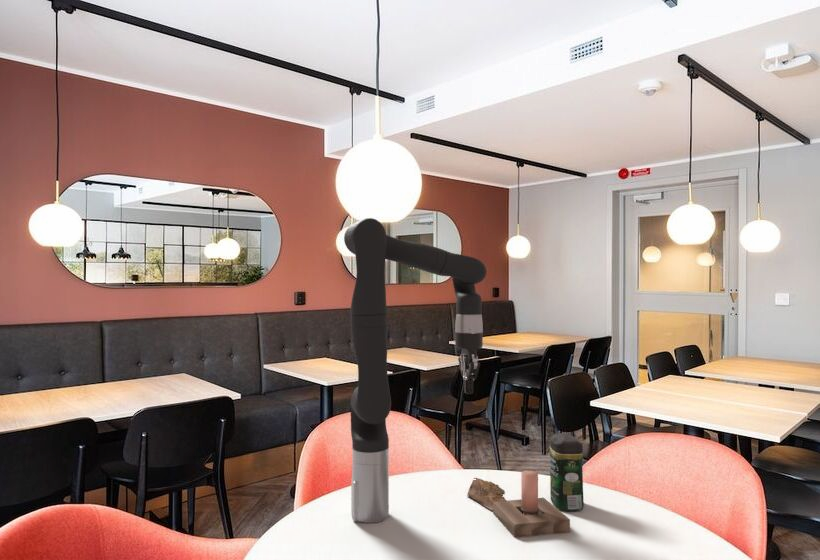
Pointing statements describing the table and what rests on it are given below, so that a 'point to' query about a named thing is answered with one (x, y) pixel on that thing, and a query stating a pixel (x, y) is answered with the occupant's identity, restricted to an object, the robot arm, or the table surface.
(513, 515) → the walnut board
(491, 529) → the table surface
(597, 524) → the table surface
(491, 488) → the wooden fragment
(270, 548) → the table surface
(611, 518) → the table surface
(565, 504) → the coffee jar
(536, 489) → the terracotta leg
